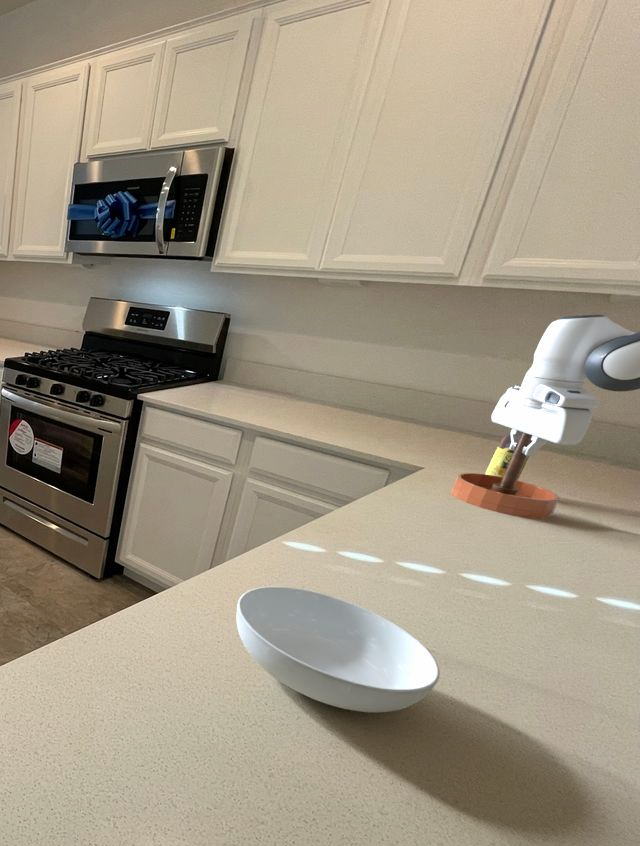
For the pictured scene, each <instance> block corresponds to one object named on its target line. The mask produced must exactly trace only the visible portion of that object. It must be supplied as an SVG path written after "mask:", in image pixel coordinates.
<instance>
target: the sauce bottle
mask: <svg viewBox="0 0 640 846" xmlns="http://www.w3.org/2000/svg"><path fill="white" fill-rule="evenodd" d="M510 433H511V431H509V432H508V433H506V434H505V435H504V436H502V438H501V440H500V442H499V445H498V446H497V447H496V449H495V452H494V454H493V456H492V457H491V459H490V462H489V464H488V466H487V469H486V470H485V472H484V474H487V475H494V476H499V477H503V476H504V474H505V472H506V469H507V467H508V465H509V462H510V460H511V458H512V456H513V453H514V450H511V449H509V447H510V445H511V434H510ZM529 458H530V456H527V457H526V459H525V462H524V464H523V466H522V468H521V471H520V473H519V475H518V477H517V480H518V481H519V479H520V477H521V474H522V473H523V470H524V469H525V466H526V464H527V461H528V460H529Z"/></svg>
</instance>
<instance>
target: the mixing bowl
mask: <svg viewBox="0 0 640 846" xmlns="http://www.w3.org/2000/svg"><path fill="white" fill-rule="evenodd" d="M502 479H503V477H499V476H494V475H487V474H485V473H479V472H461V473H459V474H457V475H456V477H455V481H454V482H453V485H452V487H451V490H450V492H449V495H452V496H453V497H455V498H456V499H458V500H460V501H463V502H464V503H467V504H470V505H472V506H475V507H478V508H481V509H485V510H489V511H492V512H495V513H499V514H505V515H509V516H514V517H519V518H527V519H539V520H542V519H550V518H551V517H552V516H553V514H554V512H555V509H556V507H557V506H558V503H559V501H560V500H561V497H560V496H559V495H558V494H557V493H555V492H553V491H552V490H549V489H546V488H544V487H541V486H540V485H536V484H533V483H529V482H526V481H521V480H519V479H518V480H516V482H515V484H514V486H513V487H516V488H518V489H519V492H518V494H517V496H514V495H509V494H504V493H500V492H496V491H492V490H491V488H492V486H493V484H494V483H499V484H500V483H501V481H502Z"/></svg>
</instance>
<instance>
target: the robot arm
mask: <svg viewBox="0 0 640 846" xmlns="http://www.w3.org/2000/svg"><path fill="white" fill-rule="evenodd" d="M586 379H587V380H588V381H589V382H590V383H591V384H592V385H594V386H595V387H597V388H599V389H602V390H605V391H610V392H619V393H620V392H631V391H636V390H640V331H637V332H634V331H632V330H629V329H627V328H625V327H623V326H621V325H619V324H618V323H616V322H615V321H613V320H611V319H610V318H609V317H608V316H607V315H604V314H579V315H578V314H577V315H565V316H562V317H560V318H557V319H555V320H553V321H552V322H551V323H550V324H549V325H548V326H547V328H546V329H545V331H544V333H543V335H542V336H541V338H540V340H539V342H538V344H537V346H536V349H535V351H534V353H533V361H532V364H531V366H530V368H529V369H528V370H527V371H526V373H525V376H524V377H523V380H522V382H521V384H514V385H512V386H510V387H509V388H508V389H507V390H506V391H505V393H503V394H502V395H501V397H500V398H499V400H498V402H497V404H496V406H495V408H494V409H493V411H492V413H491V415H490V416H491V417H490V418H491V419H490V420H491V422H492V423H494V424H498V425H501V426H503V427H506V428H510V429H511V430H510V432H511V433H510V434H511V445H510V447H509V449H511V450H514V451H515V449H516V446H517V444H518V442H519V439H520V437H521V435H522V432H524V433H527V434H530V435H533V436H532V438H531V440H532V442H531V443H530V444H529V445H528V446H524V448H523V451H522V454H524V455H526V456H529V457H536V455H537V453H538V452H539V449H541V448H542V447H544V446H545V445H546V444H547V443H548V442H551V443H554V444H556V445H563V446H564V445H565V446H575V445H577V444H579V443H580V442H582V440H583V439H584V437H585V435H586V433H587V431H588V429H589V427H590V425H591V421H592V419H593V412H592V411H591V410H596V409H597V408H598V406H599V404H600V399H599V398H597V397H596V396H594V395H593V394H592V393H591V392H589V391H588V390H587V389H586V388H585V387H583V386H584V383H585V380H586Z"/></svg>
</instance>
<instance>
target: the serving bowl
mask: <svg viewBox="0 0 640 846" xmlns="http://www.w3.org/2000/svg"><path fill="white" fill-rule="evenodd" d="M235 616H236V618H235V619H236V620H235V621H236V628H237V632H238V635H239V638H240V639H241V642H242V644H243V646H244V648H245V649H246V650H247V652H248V654H249V655H250V657H252V659H253V660H254V661H255V662H256V663H257V664H258V665H259V666H260V668H262V669H263V670H264V671H265V672H267V673H268V674H269V675H271V676H272V677H273V678H274V679H276V680H277V681H278V682H280V683H282V684H283V685H285V686H287V687H288V688H291V689H292V690H294V691H296V692H298V693H300V694H302V695H303V696H306V697H308V698H310V699H312V700H315V701H317V702H320V703H323V704H325V705H328V706H333V707H336V708H340V709H343V710H349V711H354V712H361V713H389V712H395V711H400V710H403V709H406V708H409V707H411V706H413V705H415V704H416V703H418V702H420V701H421V700H422V699H424V698H426V696H427V695H428V694H429V693H430V692H431V691H432V690H433V688H434V687H435V686H436V684H437V683H438V681H439V680H440V667H439V665H438V662H437V660H436V658H435V656H433V654H432V653H431V652H430V651H429V649H428V648H427V647H426V646H425V645H424V644H423V643H422V642H421V641H419V640H418V639H417V638H416V637H414V636H413V635H412V634H411V633H410V632H407V631H406V630H405V629H404V628H402V627H401V626H399V625H397V624H395V623H394V622H392V621H390V620H389V619H387V618H386V617H383V616H382V615H380V614H378V613H376V612H373V611H372V610H369V609H367V608H365V607H363V606H360V605H358V604H355V603H353V602H350V601H347V600H344V599H341V598H338V597H335V596H332V595H328V594H325V593H321V592H317V591H313V590H310V589H309V590H308V589H304V588H298V587H289V586H262V587H261V586H260V587H257V588H254V589H249V590H247V591H246V592H244V593H243V594H241V596H240V597H239V598H238V601H237V604H236V615H235Z"/></svg>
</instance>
